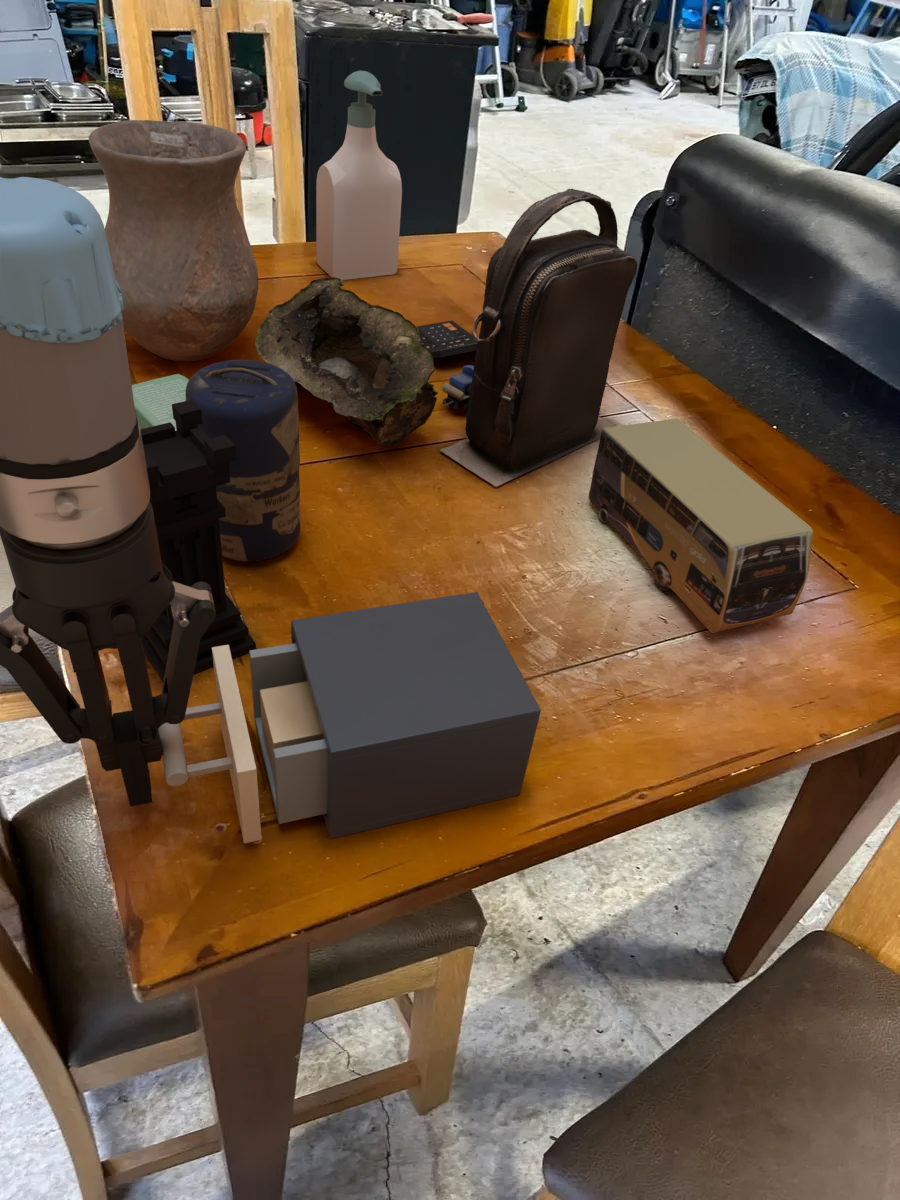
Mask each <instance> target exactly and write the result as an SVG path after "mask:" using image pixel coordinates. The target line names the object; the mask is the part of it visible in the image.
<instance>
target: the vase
mask: <svg viewBox="0 0 900 1200" xmlns="http://www.w3.org/2000/svg"><path fill="white" fill-rule="evenodd" d="M88 143H89V146H90V148H91V151H92V153H93V154H94V157H95V158H96V161H97V162H98V164H99V166H100V168H101V170H102V172H103V174H104V178H105V180H106V183H107V187H108V198H109V201H108V202H109V205H108V213H107V219H106V222H105V225H104V229H105V233H106V238H107V242H108V247H109V252H110V256H111V261H112V266H113V270H114V275H115V279H116V281H117V283H118V285H119V287H120V289H121V292H122V297H123V305H124V310H123V311H122V316H123V325H124V333H125V334H127V335H128V336H129V337H130V338H131V339H132V340H134V341H135V342H136V343H137V344H138V345H139V346H141V347H143V348H144V349H146V350H147V351H149V352H150V353H152V354H154V355H156V356H157V357H160V358H162V359H165V360H170V361H175V362H195V361H196V362H197V361H202V360H206V359H209V358H212V357H213V356H216V355H218V354H220V353H222V351H224V350H226V349H227V348H228V347H229V346H230V345H232V344H233V343H234V341H236V339H237V338H238V337H239V336H240V335H241V334H242V333H243V331H244V330H245V328H246V327H247V325H248V323H249V322H250V320H251V318H252V316H253V314H254V313H255V308H256V304H257V296H258V294H259V293H258V292H259V271H258V265H257V262H256V259H255V255H254V251H253V248H252V245H251V242H250V240H249V236H248V233H247V229H246V226H245V224H244V221H243V217H242V215H241V213H240V210H239V208H238V205H237V201H236V194H235V185H236V180H237V176H238V173H239V171H240V167H241V165H242V162H243V160H244V157H245V155H246V151H247V146H246V143H245V141H244V140H243V138H242V137H241V136H240V135H239V134H236V133H235V132H232V131H231V130H229V129H226V128H224V127H219V126H216V125H211V124H207V123H206V124H205V123H201V122H192V121H168V120H150V119H144V120H143V119H139V120H138V119H128V120H122V121H117V122H116V121H115V122H113V123H109V124H105V125H102V126H99V127H97V128H95V129H93V130H92V132H90V133H89V136H88Z"/></svg>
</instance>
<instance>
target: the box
mask: <svg viewBox="0 0 900 1200" xmlns="http://www.w3.org/2000/svg"><path fill="white" fill-rule="evenodd" d="M189 380H190V379H189V378H187V377H186V376H184V375H182V374H180V373H176V374H171V375H166V376H162V377H159V378H154V379H151V380H147V381H143V382H140V383H135V384H131V385H132V392H133V399H134V406H135V410H136V412H137V420H138V425H139V426H140V429H144V428H148V427H152V426H156V425H161V424H165V423H169V422H171V423H172V425H173V426H174V427H175V431H176V430H177V429H176V421H175V420H174V419H173V411H172V404H174V403H179V402H183V401H186V396H185V391H186V386H187V383H188V381H189Z"/></svg>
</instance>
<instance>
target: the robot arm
mask: <svg viewBox="0 0 900 1200" xmlns="http://www.w3.org/2000/svg"><path fill="white" fill-rule="evenodd" d="M123 310H124V305H123V297H122V292H121V289H120V287H119V285H118V283H117V281H116V279H115V275H114V270H113V266H112V261H111V256H110V252H109V247H108V242H107V238H106V233H105V224H104V223H103V220H102V218H101V215H100V213H99V212H98V210H97V208H96V207H95V206H94V204H93V203H92V202H91V201H90V200H89V199H88V198H87V197H86V196H84V195H83V194H82V193H80V192H79V191H77V190H75V189H73V188H71V187H69V186H67V185H64V184H62V183H59V182H55V181H53V180H48V179H43V178H38V177H37V178H36V177H30V176H19V177H14V178H13V177H11V178H9V177H1V176H0V539H1V543H2V547H3V549H4V552H5V555H6V559H7V563H8V565H9V569H10V573H11V576H12V579H13V582H14V585H15V587H14V589H13V591H12V595H11V596H12V597H11V599H12V601H13V602H12V604H11V605H9V606H8V607H7V608H5V609H4V610H3V611H1V612H0V666H1V667H2V668H4V669H6V670H7V672H8V673H9V675H10V676H11V677H12V678H13V680H14V681H15V682H16V683H17V685H18V686H19V688H20V689H21V690H22V692H23V693H24V694H25V695H26V696H27V698H28V699H29V701H30V702H31V703H32V704H33V706H34V707H35V708H36V710H37V711H38V712H39V714H40V715H41V717H43V719H44V721H45V722H46V723H47V724H48V725H49V727H50V729H52V731H53V732H54V733H55V735H56V736H57V737H58V738H59V740H60V741H61V742H62V743H64V744H67V745H68V744H69V745H72V744H76V743H78V742H80V740H81V739H87V740H91V741H93V742H94V744H95V747H96V750H97V754H98V757H99V761H100V764H101V768H102V769H103V770H104V771H105V772H110V771H116V770H120V772H121V776H122V780H123V783H124V788H125V791H126V792H125V793H126V796H127V800H128V804H129V807H131V808H132V807H136V806H141V805H146V804H151V803H153V802H154V801H153V793H152V792H153V791H152V783H151V781H152V780H151V772H150V767H149V763H150V764H151V763H155V762H160V761H161V760H162V759H163V755H162V747H161V739H160V732H159V727H160V726H161V725H163V724H165V723H169V724H178V723H180V724H181V723H182V722H184V721H185V720H184V718H185V714H186V709H187V708H188V704H189V699H190V694H191V690H192V689H191V688H192V686H193V685H192V684H193V680H194V675H195V674H194V670H195V665H196V660H197V655H198V650H199V645H200V640H201V637H202V636H203V635H204V633H205V632H206V630H207V629H208V627H209V626H210V625H211V623H212V622H213V620H214V619H215V617H216V611H215V607H214V601H213V597H212V592H211V587H210V585H209V584H208V583H206V582H197V583H195V584H193V585H192V586H191V587H189V586H186V585H183V584H180V583H177V582H174V581H173V576H172V573H171V572H170V570H169V569H168V568H167V567H166V566H165V565H164V564H163V563H162V561H161V556H160V550H159V543H158V537H157V531H156V524H155V518H154V512H153V508H152V505H151V503H150V486H149V480H148V473H147V467H146V461H145V455H144V448H143V442H142V436H141V429H140V426H139V425H138V420H137V412H136V410H135V406H134V399H133V392H132V385H133V384H132V378H131V372H130V364H129V358H128V357H129V356H128V351H127V343H126V335H125V334H126V333H125V331H124V325H123V316H122V311H123ZM169 604H170V605H171V609H172V616H173V619H174V624H173V630H172V635H171V641H170V647H169V652H168V658H167V664H166V669H165V675H164V681H162V687H161V693H160V694H157V695H155V696H153V691H152V687H151V686H152V685H151V682H150V681H151V680H150V676H149V670H148V666H147V665H148V664H147V661H146V660H147V659H146V654H145V653H144V650H143V645H142V639H143V638H144V637H145V636H146V635H147V634H148V633H149V631H150V630H151V629H152V627H153V626H154V625H155V623H156V622H157V621H158V619H159V618H160V616H161V615H162V614H163V612H164V611H165V610H166V608H167V607H168V606H169ZM30 630H32V631H33V632H35V633H36V634H38V635H40V636H41V637H43V638H44V639H46V640H47V641H49V642H50V643H53V644H54V645H56V646H57V647H59V648H61V649H63V650H66V651H67V652H68V655H69V659H70V663H71V667H72V670H73V673H75V676H76V680H77V684H78V688H79V691H80V694H81V695H80V696H81V699H82V703H83V707H84V708H83V707H81V705H80V704H79V703H78V701H77V700H76V698H75V697H74V695H73V694H72V693H71V691H70V690H69V688H68V687H67V685H66V684H65V683H64V681H63V680H62V678H61V677H60V676H59V674H58V673H57V671H56V670H55V668H54V667H53V666H52V664H51V662H50V661H49V660H48V659H47V657H46V656H45V654H44V653H43V651H42V650H41V648H40V647H39V646H38V644H37V643H36V642H35V640H34V639H33V637H32V636H31V635H30V633H29V632H30ZM106 649H109V650H111V649H112V650H117V652H118V656H119V660H120V665H121V666H122V670H123V675H124V680H125V683H126V684H125V685H126V688H127V693H128V698H129V703H130V706H131V707H130V708H131V710H126V711H121V712H115V713H113V706H112V705H113V704H112V699H110V695H109V691H108V687H107V682H106V678H105V674H104V670H103V666H102V662H101V657H100V653H99V652H100V651H103V650H106Z"/></svg>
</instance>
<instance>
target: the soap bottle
mask: <svg viewBox="0 0 900 1200" xmlns="http://www.w3.org/2000/svg"><path fill="white" fill-rule="evenodd" d="M343 86H344V87H345V88H346V89H348V90H350V91H356V92H357V101H355V102H351V103H350V106H348V107H347V124H346V131H345V136H344V140H343V143H342V145H341V146H340V148H339V149H338V150H337V151H336V152H335V154H334V155H332V157H331V158H330V159H329V160H327V161H326V162H324V163H323V164H322V165H321V166H320V167H319V169H318V171H317V174H316V185H315V186H316V187H315V190H316V192H315V193H316V199H315V200H316V203H315V204H316V205H315V207H316V208H315V209H316V211H315V213H316V215H315V216H316V218H315V219H316V221H315V222H316V223H315V224H316V231H315V233H316V234H315V235H316V237H315V239H316V245H315V246H316V247H315V248H316V250H315V251H316V252H315V253H316V257H315V258H316V260H315V261H316V264H317V265H318V266H319V267H320V268H321V269H322V270H323V271H324V272H325V273H326V274H327V275H328V276H329V277H330V278H331V277H335V278H339V279H340V280H342V281H346V280H347V281H348V280H356V279H365V278H372V277H373V278H374V277H381V276H391V275H395V274H397V272H398V266H399V250H400V249H399V248H400V232H401V218H402V217H401V215H402V202H403V201H402V200H403V185H402V177H401V173H400V170H399V168H398V165H397V164H396V163H395V162H394V161H393V160H391V159H390V158H388V157H387V156H386V155H385V153H384V152H383V151H382V150H381V148H380V147H379V144H378V141H377V133H376V132H377V131H376V109H375V108H373V107H374V106H373V104H371V103H368V102H367V95H369V96H371V97H376V96H377V97H378V96H379V97H381V96H383V94H384V91H383V90H382V88H381V87H382V86H381V83H380V81H379V80H378V79H377V78H376V76H375V75H374V74H372V73H371V72H369V71H366V70H357V71H354V72H352V73H350V74H349V75H347V77H346V78H345V79H344V82H343Z"/></svg>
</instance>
